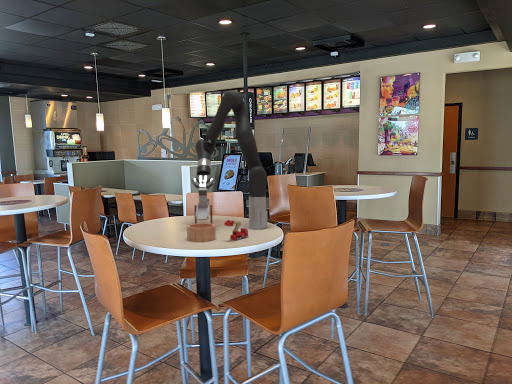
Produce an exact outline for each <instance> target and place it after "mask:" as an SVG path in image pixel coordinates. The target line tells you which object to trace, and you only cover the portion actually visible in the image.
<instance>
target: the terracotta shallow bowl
mask: <svg viewBox="0 0 512 384" xmlns="http://www.w3.org/2000/svg"><path fill="white" fill-rule="evenodd" d="M216 231H217V226H216V224H215V223H213V224H210V222H207V223H205V222H204V223H203V222H199V223H198V222H197V223H196V224H195V223H192V224H188V225H187V226H186V236H187V238H186V239H187V241H189V242H194V243H206V242H207V243H208V242H211V241H215V240H216V236H217V234H216V233H217V232H216Z"/></svg>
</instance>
